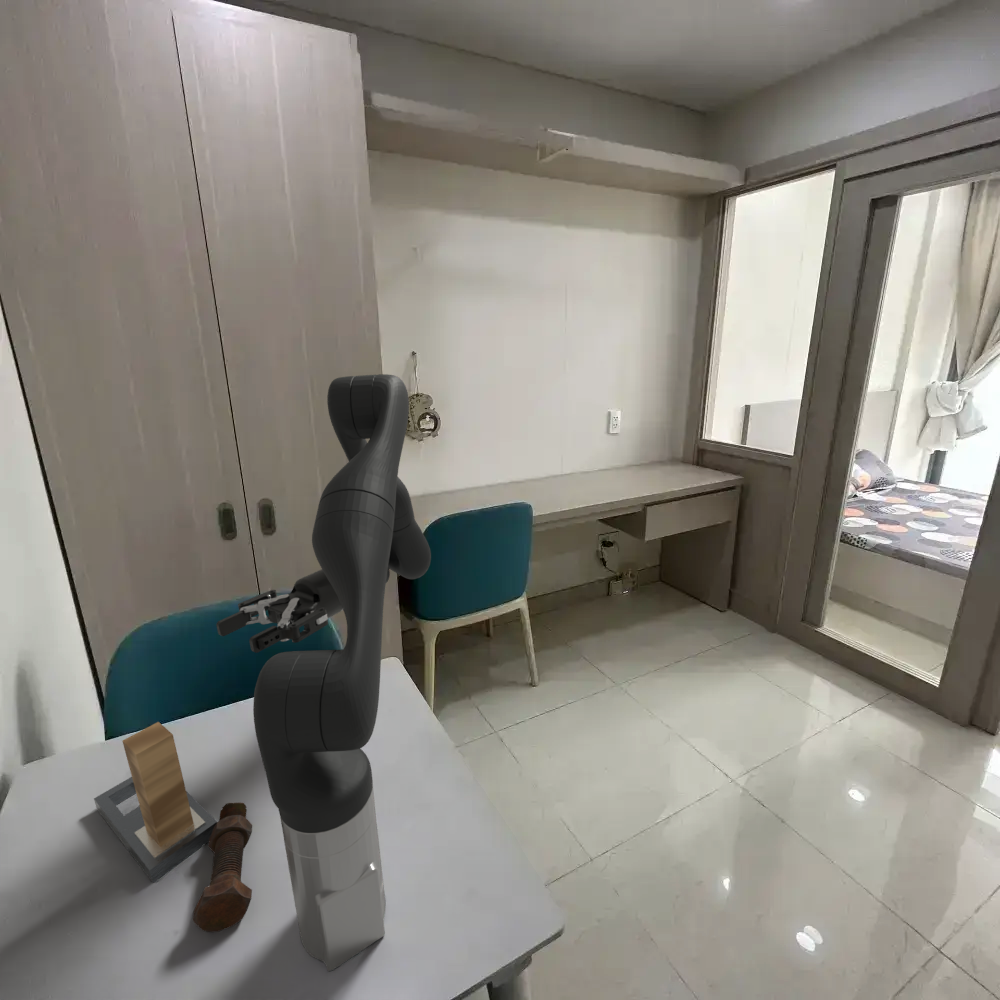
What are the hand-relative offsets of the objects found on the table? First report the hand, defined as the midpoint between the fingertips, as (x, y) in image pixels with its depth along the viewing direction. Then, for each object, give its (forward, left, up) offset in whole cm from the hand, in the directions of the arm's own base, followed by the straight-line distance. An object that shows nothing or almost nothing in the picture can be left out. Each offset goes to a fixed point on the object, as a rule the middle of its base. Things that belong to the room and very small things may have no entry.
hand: (234, 637), depth 70 cm
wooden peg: (-5, +11, -21) cm, 25 cm away
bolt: (-13, +6, -24) cm, 28 cm away
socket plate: (0, +13, -24) cm, 27 cm away
